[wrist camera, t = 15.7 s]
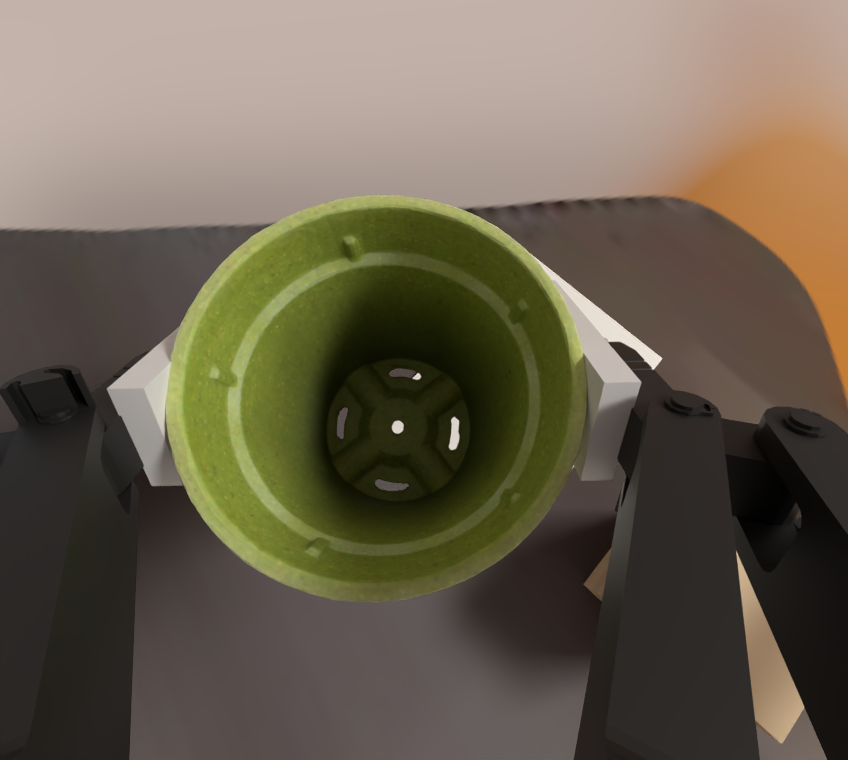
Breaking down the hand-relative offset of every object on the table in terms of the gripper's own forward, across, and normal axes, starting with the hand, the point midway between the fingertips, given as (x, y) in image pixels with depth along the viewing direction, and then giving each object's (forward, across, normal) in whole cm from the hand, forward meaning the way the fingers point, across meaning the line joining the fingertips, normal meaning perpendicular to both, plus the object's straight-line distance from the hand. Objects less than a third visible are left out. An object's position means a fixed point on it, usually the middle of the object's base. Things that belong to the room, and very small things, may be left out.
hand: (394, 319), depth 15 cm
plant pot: (+1, 0, +5) cm, 5 cm away
